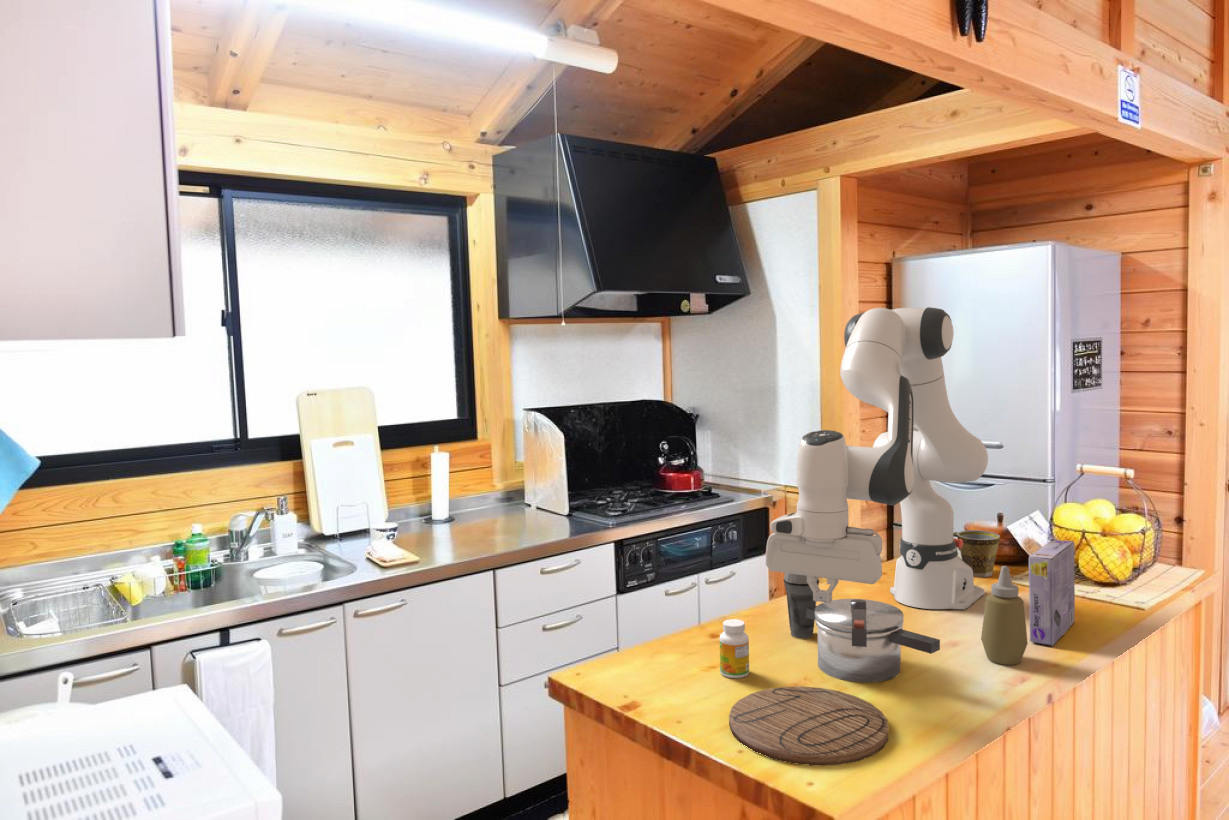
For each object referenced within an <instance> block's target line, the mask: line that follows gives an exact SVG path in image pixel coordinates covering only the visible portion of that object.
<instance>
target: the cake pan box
mask: <svg viewBox="0 0 1229 820" xmlns="http://www.w3.org/2000/svg"><path fill="white" fill-rule="evenodd" d="M1028 589H1029V590H1028V591H1029V592H1028V594H1029V595H1028V596H1029V599H1028V602H1029V604H1028V605H1029V642H1032V643H1037V644H1041V645H1045V646H1049V647H1054V646H1055V644H1056V643H1057V641H1059V639H1061V638H1062V637H1061V636H1063V634H1064V633H1065V632H1066V631H1067V632H1068V630H1069V629H1070V628H1071V627H1072V626H1073V622H1074V623H1075V617H1076V616H1075V610H1076V608H1075V606H1076V605H1075V602H1076V601H1075V599H1076V598H1075V596H1076V595H1075V592H1076V590H1075V542H1074V540H1058V539H1056V540H1055V539H1052V540H1051V541H1049V542H1048V543H1047V544H1045V545H1043V546H1042V547H1041V548H1038V550H1036V551H1035V552H1034V553H1032V554H1030V555H1029V556H1028ZM1071 625H1072V626H1071ZM1070 626H1071V627H1070ZM1067 632H1066V633H1067ZM1066 633H1065V634H1066ZM1065 634H1064V635H1065ZM1063 637H1064V636H1063Z"/></svg>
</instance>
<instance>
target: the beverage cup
mask: <svg viewBox="0 0 1229 820" xmlns="http://www.w3.org/2000/svg"><path fill="white" fill-rule="evenodd" d="M783 577H784V578H783V583H784V588H785V592H786V602H787V613H788V620H789V621H788V623H789V628H790V629H789V630H790V636H792V637H793V638H796V639H809V638H810V639H811V638H812V637H813V635H814V628H815V620H813V619H809V618H806V609H807V608H810V607H813V606H817V601H813V591H812V590H811V588H810V586H809V585H808V583H807V576H805V575H798V574H790V573H784V575H783ZM816 582H817V584H818V586H820V585H819V583H820V577H818V579H817V580H816Z"/></svg>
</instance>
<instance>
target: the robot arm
mask: <svg viewBox="0 0 1229 820" xmlns="http://www.w3.org/2000/svg"><path fill="white" fill-rule="evenodd" d="M843 335H844V337H843V339H844V347H845V349H844V352H843V356H842V359H841V363H840V370H839V372H840V374H839V375H840V378H841V381H842V384H843V386H844V387H845V388H846V391H848V392H849V393H850V394H851V395H853V397H855V398H856V399H858V400H860V401H861V402H863V403H866V404H868V405H872V406H874V407H876V408H879V409H881V410H882V411H884V412H886V413H887V414H888V417H887V431H886V432H882V433H880V434H879V435H878V436H877V437H876V439H875V440H874V443H873V445H872V446H858V445H857V446H856V445H855V446H854V445H846V443H847V442H846V440H845V439H846V438H845V436H844V434H843V433H841V432H839V431H836V430H828V429H823V430H821V429H820V430H815V431H810V432H808V433H806V434H805V435H803V436H802V437H801V438H800V443H799V447H798V454H797V461H796V463H797V464H796V465H797V466H796V486H797V488H798V500H797V504H796V512H791V513H789V514H788V513H787V514H784V515H782V516H779V517H776V519H773V520H772V521H771V522H770V524H769V525H770V526H769V527H770V531H771V533H772V534H770V535H769V536H768V538H767V542H766V548H765V549H766V550H765V566H766V567H767V569H768V570H769V571H770V572H776V573H777V572H778V573H784V574H785V573H790V574H798V575H805V576H807V583H808V585H809V586H810V588H811V590H812V591H813V601H816V602H819V603H820V602H821V603H824V602H825V603H830V602H831V601H832V600H833V592H834V590H835V589H836V587H837V585H838V583H839V581H844V582H845V581H846V582H852V583H853V582H854V583H861V584H867V585H868V584H869V585H874V584H876V583H877V582H879V580H880V579H881V578H882V576H883V566H882V555H881V554H882V551H883V538H882V537H881V535H880V534H879V533H878V532H876V531H875V530H874V529H872V528H860V527H855V526H854V527H853V526H849V503H848V500H856V501H867V502H873V503H878V504H883V505H887V506H888V505H889V506H896V505H897V504H900V514H901V530H902V531H901V535H902V536H901V538H900V539H899V540H900V542H899V553H900V555H901V556H899V557H898V558H897V559H896V563H895V574H894V585H893V586H891V587H890V588H889V589H890V590H889V592H890V593H891V594H892V595H893V596H894V597H893V598H894V600H895V601H897V603H901V604H903V605H905V606H908V607H913V608H920V609H924V610H925V609H926V610H948V609H949V610H950V609H951V610H967V609H968V608H969V607H970V606H971V605H972V603H973V604H974V603H975V602H977V600H979V599H980V598H981V597H983V596H984V595H985V593H986V592H985V589H984V588H982V587H980V586H979V585H975V584H974V580H975V579H974V578H975V577H973V570H972V568H971V567H970V566H968V565H967V564H966V563H965V562H964V561H963V560H962V557H961V558H960V556H959V553H958V552H959V551H958V548H962V547H963V541H962V539H957V537H956V538H954V536H953V533H954V514H955V513H954V509H953V507H952V505H951V503H950V502H949V501H948V500H947V499H946V498H944V497H942V496H941V495H939V494H938V493H937V492H936V491H935V490H934V489H933V487H932V484H931V482H930V481H933V482H944V483H954V484H955V483H956V484H957V483H969V482H975V481H978V480H979V479H980V478H981V477H982V476H983V474H984V473H985V472H986V470H987V467H988V464H989V454H988V451H987V448H986V446H985V445H984V442H983V441H982V440H981V439H980V438H978V437H976V436H975V435H973V434H972V433H971V432H970V431H968V430H967V429H966V428H965V427H964V425H962V424H961V422H960V421H959V420H958V418H957V417H956V415H955V414H954V412H953V409H952V407H951V405H950V401H949V397H948V392H947V391H948V390H947V386H946V385H947V384H946V380H945V372H944V365H943V360H942V357H944V356H945V355H946V354H947V353H948V352H949V351H950V350H951V348H952V344H953V340H954V326H953V323H952V318H951V316H950V314H948V313H947V312H946V311H945V310H944V309H942V308H938V307H930V306H929V307H926V308H919V307H918V308H917V307H900V308H899V307H897V308H895V309H889V308H886V307H885V308H884V307H875V308H874V307H873V308H871V309H868V310H867V311H864V312H861V313H858V314H855V315H853V316H852V317H851V318H849V320H848V321H847V323H846V325H845V328H844V334H843ZM914 428H916V429H917V430H914ZM953 538H954V539H953ZM818 577H819V578H821V579H826V583H827V585H829V586H828V588H827V590H825V589H821V588H820V585H818V584H817V582H816V580H817V579H818ZM966 608H967V609H966Z"/></svg>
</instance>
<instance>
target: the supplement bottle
mask: <svg viewBox="0 0 1229 820" xmlns="http://www.w3.org/2000/svg"><path fill="white" fill-rule="evenodd" d="M722 629H723V632H721V633H720V635H719V672H720V674H721V675H722V676H723V677H726V678H730V679H742V678H745V677H747V676H748V675H749V674H750V646H749V645H750V643H749V641H750V640H749V635H748V634H747V633H746V632H745V629H746V625H745V621H743V620H741V619H737V618H733V619H731V618H730V619H726V620H724V621H723V622H722Z"/></svg>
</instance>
